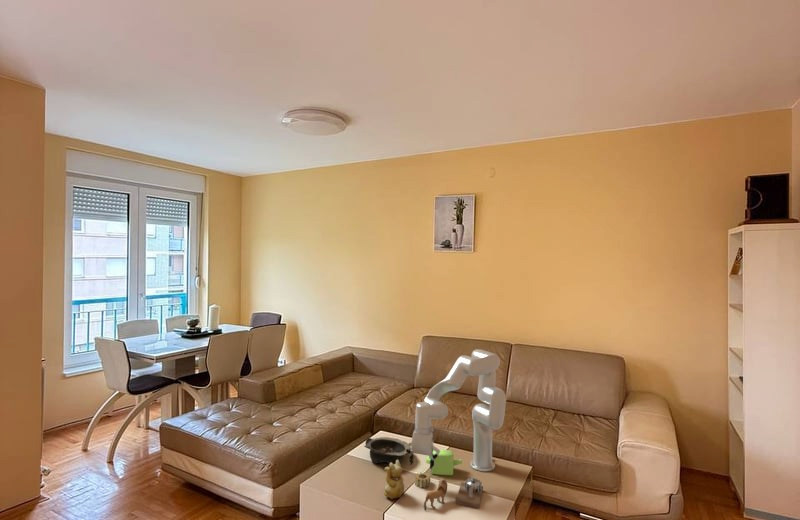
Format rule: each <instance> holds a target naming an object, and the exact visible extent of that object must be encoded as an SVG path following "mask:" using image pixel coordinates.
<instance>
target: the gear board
mask: <svg viewBox="0 0 800 520" xmlns="http://www.w3.org/2000/svg"><path fill="white" fill-rule="evenodd" d="M482 492H484V486H483V485H482V489H481V491H479V493H477V492H475V493H473V488H469V491H467V490H466V489H465V482H461V483H460V486H459V489H458V493H457V495H456V498H455V505H457V506H461V507H466V508H467V507H468V508H472V509H473V508H474V509H477V508H479V509H480V506H479V505H481V502H482V496H483V493H482Z"/></svg>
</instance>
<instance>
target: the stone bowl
mask: <svg viewBox="0 0 800 520" xmlns="http://www.w3.org/2000/svg"><path fill="white" fill-rule="evenodd" d="M405 444H408V442H406V441H405V440H401V439H399V438H394V437H389V436H384V437H383V436H382V437H375V438H371V437H369V438H367V439H366V440H365V445H364V446H363V447H364V448H366V449H368V450H369V457H370V460H371V462H372V463H374V464H381V463H388V465H389V464H390V463H393V464H396V460H399V462H402V460H403V458H404V457H405V455H406V454H408V453H407V452H406V449H405V447H404V446H405ZM408 448H409V449H410V450H411V446H409V447H408Z"/></svg>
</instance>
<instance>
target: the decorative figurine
mask: <svg viewBox="0 0 800 520" xmlns="http://www.w3.org/2000/svg"><path fill="white" fill-rule="evenodd" d="M400 462H401V461H400ZM400 462H399V460H396V464H393V463H390V464H389V463H388V465H389V466H386V467H384V471H386V476H385V482H386V483H387V484H385V486H384V492H383V494H384V496H386V497H387V498H389V499H391V500H392V501H394V500H396V499H398V498H401V497H402V495H403V494H404V491H405V484H404V477H403V476H402V475H403V468H402V467H401V463H400Z"/></svg>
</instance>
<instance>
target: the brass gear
mask: <svg viewBox="0 0 800 520" xmlns="http://www.w3.org/2000/svg"><path fill="white" fill-rule="evenodd" d="M414 485H416V487H419V488H420V489H421V488H423V489H426V488H429V487H430V486H431V475H430V474H429V473H426V472H419V473H418V472H417V473H416V474H415V475H414Z"/></svg>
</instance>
